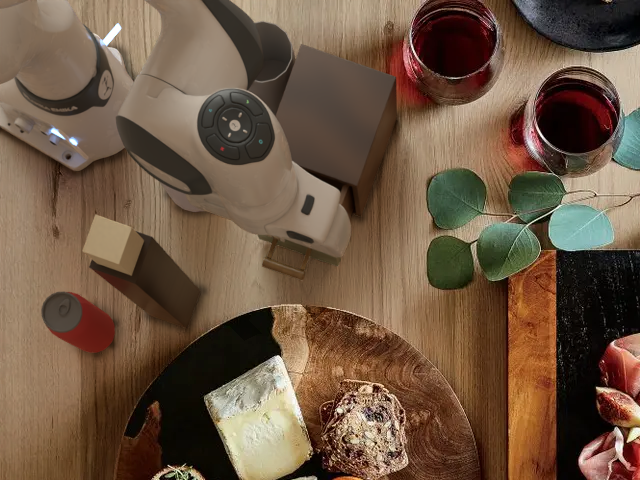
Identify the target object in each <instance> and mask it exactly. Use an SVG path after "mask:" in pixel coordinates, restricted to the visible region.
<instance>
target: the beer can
mask: <svg viewBox="0 0 640 480" xmlns="http://www.w3.org/2000/svg"><path fill="white" fill-rule="evenodd" d="M40 312H41V319H42V321H43V323H44V324H45V327H46V328H47V329H48V331H49V332H50V333H51V334H52V335H53V336H55V337H56V338H58V339H60V340H62V341H64V342H66V343H67V344H70V345H71V346H73V347H75V348H77V349H79V350H81V351H83V352H87V353H90V354H95V353H100V352H103V351H105V350H106V349H107V348H108V347H110V345H111V344H112V343H113V341H114V338H115V335H116V326H115V323H114V320H113V319H112V317H111V316H110V314H109V313H107V312H105V311H104V310H102V309H101V308H99V307H98V306H97V305H95V304H93V303H92V302H91V301H90V300H88V299H87V298H85V297H83V296H82V295H81V294H79V293H76V292H72V291H56V292H53V293H51V294H50V295H49V296H47V297H46V298H45V300H44V301H43V303H42V306H41V308H40Z"/></svg>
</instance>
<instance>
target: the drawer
mask: <svg viewBox="0 0 640 480" xmlns="http://www.w3.org/2000/svg"><path fill="white" fill-rule="evenodd" d="M305 171H306V172H308V173H309V174H311V175H313V176H315V177H316V178H318V179H320V180H322V181H324V182H326V183H328V184H329V185H331V186H333V187H335V188H337V189H338V190H339V191H340V193H341V197H340V202H339V204H341V205H342V206H343V207H344V209H345V210H346V212H347V214H348V217H349V220H350V221H351V217H352V215H353V214H352V212H353V209H354V206H355V202H354V195H353V189H352V186H349V185H346V184H344V183H341V182H338V181H335V180H332V179H329V178H326V177H324V176H321V175H318V174H315V173H312V172H309V171H307V170H305ZM257 237H258V239H259V240H260V241H264V242H267V243H270V246H269V249H268V251H267V254H266V256H264V257H263V259H262V264H261V267H263V268H265V269H268V270H271V271H273V272H277V273H279V274H281V275H285V276H288V277H290V278H293V279H296V280H299V281H304V280H305V276H306V268H307V265H308V262H309V259H310V258H311V259H314V260H317V261H321V262H324V263H326V264H329V265H332V266H335V267H340V263H341V260H342V259H341V258H342V257H333V256H331V255H328V254H325V253H323V252H320V251H317V250H314V249H311V248H308V247H306V246H303V245H300V244H297V243H294V242H291V241H289V240H285V242H282V241H280V240H277V239H274V238H271V237H268V236H265V235H257ZM277 246H278V247H281V248H284V249H286V250H289V251H292V252H295V253H298V254H301V255H304V257H303V259H302V262H301V264H300V266H299V267H300V268H298V267H295V266H292V265H289V264H287V263H284V262H281V261H279V260H276V259H273V255H274V252H275V249H276V247H277Z"/></svg>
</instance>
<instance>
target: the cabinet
mask: <svg viewBox="0 0 640 480" xmlns="http://www.w3.org/2000/svg"><path fill="white" fill-rule="evenodd" d="M295 59H296V60H295V63H294V66H293V68H292V71H291V74H290V77H289V80H288V82H287V85H286V88H285V91H284V94H283V96H282V99H281V102H280V105H279V108H278V110H277V113H276V116H275V117H276V118H277V120H278V122H279V123H280V125H281V127H282V129H283V132H284V134H285V136H286V139H287V142H288V145H289V149H290V153H291V158H292V161H293V162H295V163H296V164H297V165H299V166H300V167H301V168H302V169H304V170H307V171H309V172H312V173H315V174H318V175H321V176H324V177H326V178H329V179H332V180H335V181H338V182H341V183H344V184H346V185H349V186H352V189H353V195H354V202H355V206H354V209H353V212H352V215H353V216H356V217H359V218H362V217H363V214H364V212H365V208H366V206H367V203H368V200H369V198H370V194H371V192H372V188H373V186H374V183H375V181H376V178H377V175H378V172H379V170H380V167H381V164H382V161H383V158H384V155H385V154H386V150H387V147H388V144H389V142H390V140H391V139H390V138H391V135H392V133H393V130H394V127H395V125H396V122H397V119H398V113H397V112H398V111H397V110H398V109H397V101H398V100H397V77H396V76H395V75H392V74H390V73H387V72H384V71H381V70H378V69H375V68H373V67H369V66H366V65H364V64H360V63H358V62H355V61H353V60H350V59H346V58H343V57H341V56H339V55H335V54H332V53H329V52H326V51H323V50H321V49H317V48H315V47H312V46H309V45H306V44H303V43H301V44H300V46H299V49H298V52H297V54H296V56H295Z"/></svg>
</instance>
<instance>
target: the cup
mask: <svg viewBox="0 0 640 480" xmlns="http://www.w3.org/2000/svg"><path fill="white" fill-rule="evenodd" d="M254 23H255V25H256V27H257V30H258V33H259V36H260V40H261V45H262V50H263V58H264V66H263V69H262V70H261V72H260V73H259V75H258V76H257V78H256V79H255V81H254V82H253V84H252V85H251V87H250V88H249V90H248V91H249V92H251V93H253V94H255V95H256V96H257V97H259V98H260V99H261V100H262V101H263V102H264V103H265V104H266V105H267V106H268V107H269V109H270V110H271V111H272V112H273V114H274V115H275V116H276V113H277V110H278V108H279V105H280V102H281V99H282V96H283V94H284V91H285V88H286V85H287V82H288V80H289V77H290V74H291V71H292V68H293V66H294V63H295V60H296V55H295V51H294V46H293V43H292V41H291V39H290V37H289V34H288V33H287V31H285V30H284V29H283V28H282V27H280V26H279V25H278V24H277V23H274V22H271V21H267V20H266V21H265V20H259V21H256V22H254Z"/></svg>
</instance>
